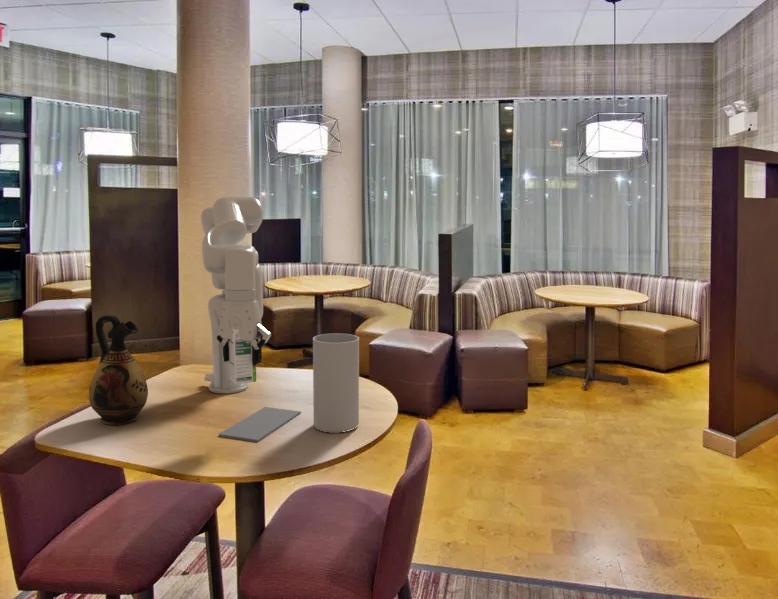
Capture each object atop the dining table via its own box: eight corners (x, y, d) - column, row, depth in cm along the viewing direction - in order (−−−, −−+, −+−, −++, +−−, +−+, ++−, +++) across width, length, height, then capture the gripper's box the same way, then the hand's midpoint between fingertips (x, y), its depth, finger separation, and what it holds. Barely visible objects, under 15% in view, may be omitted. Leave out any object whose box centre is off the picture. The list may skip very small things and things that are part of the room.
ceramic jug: (160, 413, 185) (155, 312, 180) (128, 431, 170) (122, 322, 165) (108, 408, 188) (102, 309, 184) (73, 426, 173) (65, 319, 169)
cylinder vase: (317, 418, 182) (316, 333, 178) (360, 419, 181) (360, 333, 178) (310, 433, 169) (309, 342, 166) (356, 434, 169) (357, 343, 165)
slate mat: (218, 436, 167) (218, 433, 167) (265, 408, 190) (265, 406, 189) (258, 442, 163) (258, 439, 163) (301, 413, 186) (301, 411, 186)
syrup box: (234, 384, 162) (233, 329, 160) (229, 378, 167) (227, 325, 165) (256, 382, 164) (255, 327, 162) (250, 376, 170) (249, 323, 167)
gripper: (203, 295, 162) (205, 362, 164) (262, 299, 156) (264, 368, 159) (220, 292, 169) (222, 355, 171) (277, 295, 163) (279, 361, 166)
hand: (242, 361), depth 165 cm, fingers closed on syrup box, 8 cm apart
